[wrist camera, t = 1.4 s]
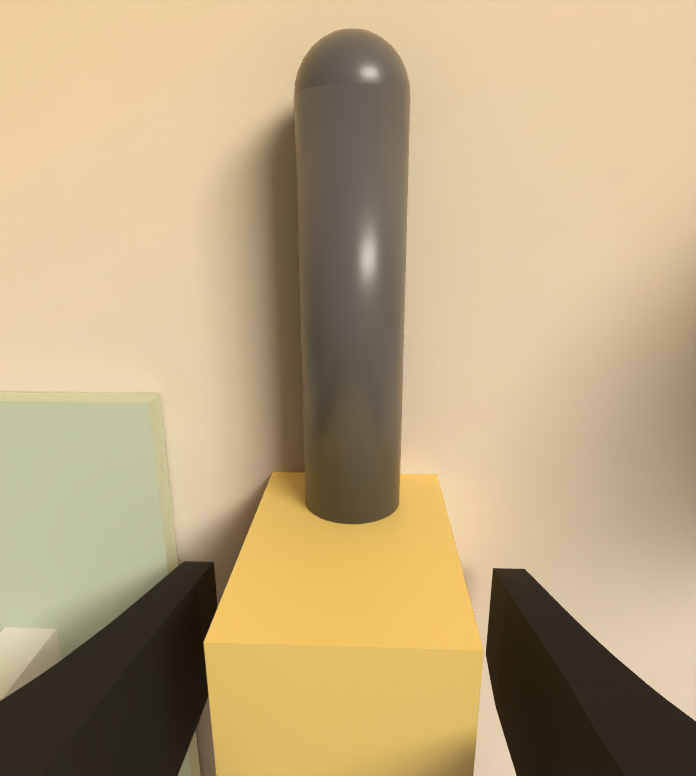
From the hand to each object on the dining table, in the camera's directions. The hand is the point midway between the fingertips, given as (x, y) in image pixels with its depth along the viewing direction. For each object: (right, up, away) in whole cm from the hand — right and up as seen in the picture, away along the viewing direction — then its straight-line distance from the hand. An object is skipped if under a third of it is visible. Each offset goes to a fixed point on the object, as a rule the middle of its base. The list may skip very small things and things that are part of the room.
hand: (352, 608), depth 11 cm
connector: (0, +4, 0) cm, 4 cm away
